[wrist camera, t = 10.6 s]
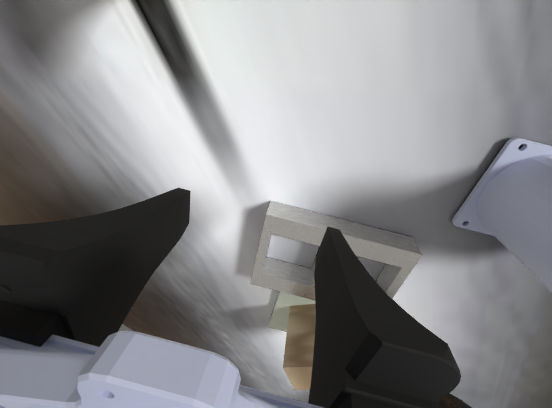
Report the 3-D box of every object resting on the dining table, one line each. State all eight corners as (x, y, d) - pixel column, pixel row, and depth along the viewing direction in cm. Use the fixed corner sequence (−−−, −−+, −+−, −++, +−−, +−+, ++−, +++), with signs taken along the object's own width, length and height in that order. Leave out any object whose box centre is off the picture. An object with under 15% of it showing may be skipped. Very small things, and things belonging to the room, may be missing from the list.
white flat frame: (413, 237, 24) (422, 254, 22) (374, 298, 29) (379, 317, 26) (270, 200, 24) (265, 214, 22) (255, 266, 29) (250, 283, 27)
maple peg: (323, 302, 29) (324, 366, 23) (330, 325, 31) (333, 389, 25) (289, 305, 30) (283, 367, 24) (298, 327, 32) (294, 389, 26)
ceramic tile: (358, 300, 29) (359, 306, 28) (335, 339, 33) (335, 345, 33) (282, 280, 29) (281, 285, 29) (269, 321, 33) (268, 327, 33)
